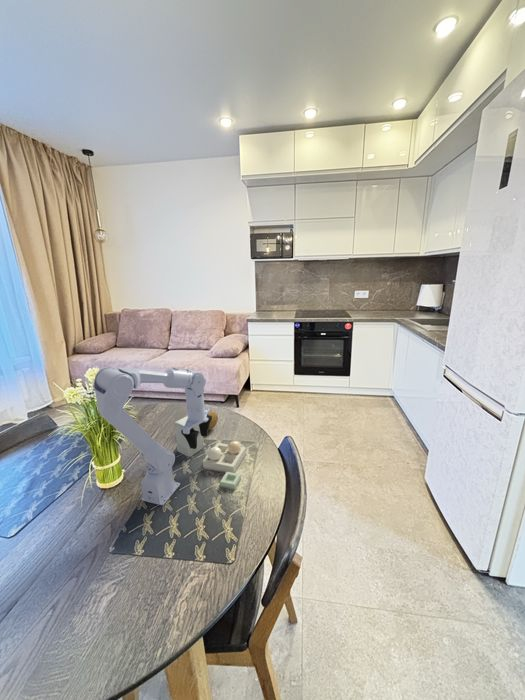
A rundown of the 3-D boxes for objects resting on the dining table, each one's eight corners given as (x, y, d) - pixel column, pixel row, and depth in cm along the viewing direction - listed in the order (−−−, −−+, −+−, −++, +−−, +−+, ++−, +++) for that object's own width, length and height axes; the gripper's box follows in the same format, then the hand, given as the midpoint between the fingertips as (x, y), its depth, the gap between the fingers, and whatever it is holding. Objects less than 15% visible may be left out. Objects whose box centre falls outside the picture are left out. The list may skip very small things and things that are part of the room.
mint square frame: (235, 489, 94) (234, 484, 93) (220, 486, 95) (220, 481, 94) (240, 479, 98) (240, 474, 98) (227, 476, 100) (226, 471, 99)
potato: (189, 423, 135) (188, 407, 133) (220, 423, 134) (219, 407, 132) (183, 435, 125) (181, 418, 123) (216, 435, 125) (215, 418, 123)
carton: (233, 474, 101) (233, 466, 100) (203, 468, 104) (202, 461, 103) (246, 454, 111) (245, 447, 110) (217, 449, 115) (217, 442, 114)
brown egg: (238, 458, 106) (237, 446, 105) (225, 456, 107) (224, 444, 106) (243, 450, 110) (242, 439, 109) (231, 448, 112) (230, 437, 110)
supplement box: (189, 458, 110) (186, 427, 107) (177, 451, 115) (173, 421, 111) (204, 448, 116) (202, 419, 113) (191, 442, 120) (189, 414, 117)
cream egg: (218, 465, 103) (217, 452, 101) (206, 462, 104) (204, 450, 103) (224, 456, 107) (223, 445, 106) (212, 455, 108) (211, 443, 107)
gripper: (195, 417, 91) (198, 455, 95) (216, 398, 104) (218, 432, 108) (175, 414, 93) (179, 452, 97) (198, 396, 107) (201, 430, 110)
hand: (199, 441), depth 103 cm, fingers open, 7 cm apart
